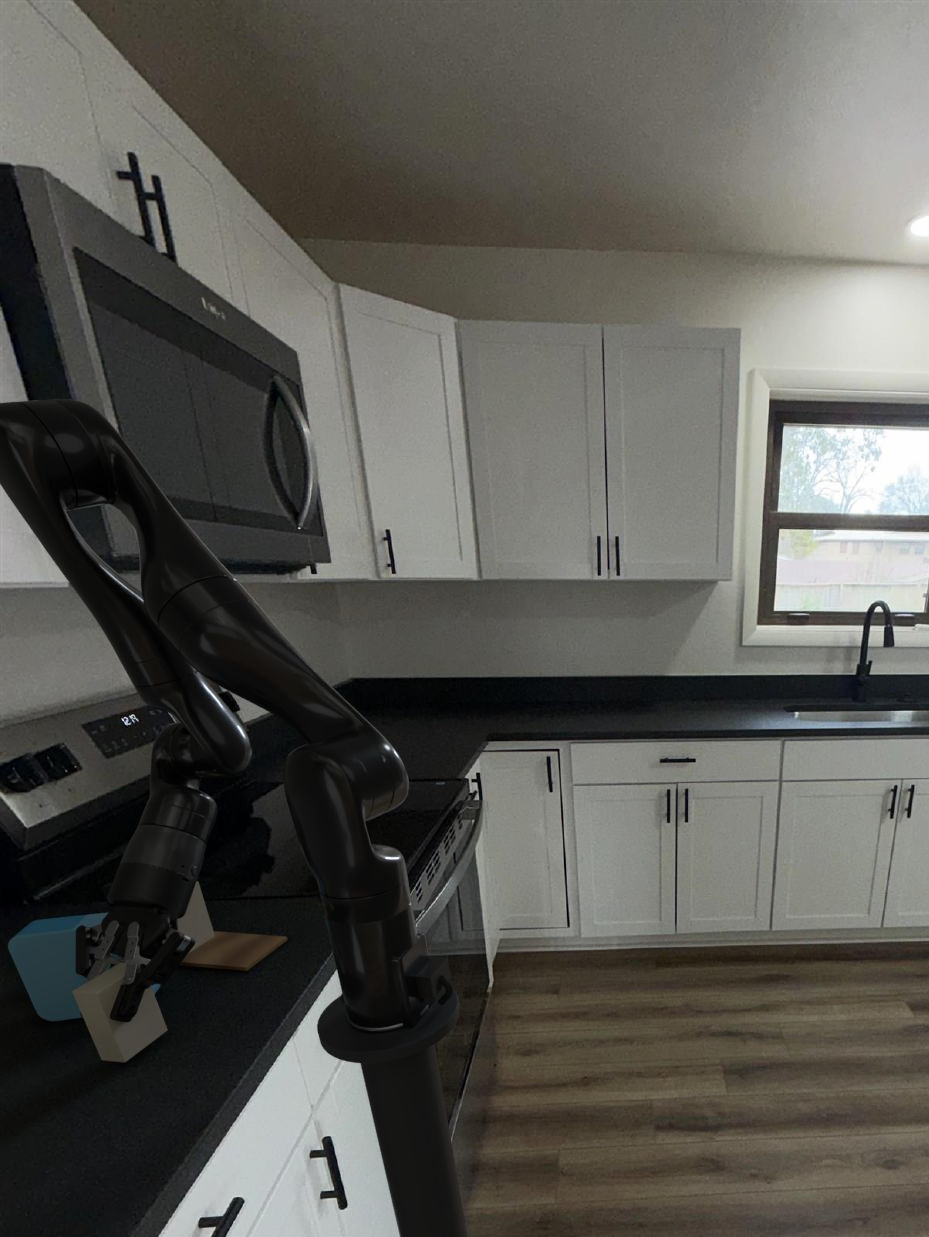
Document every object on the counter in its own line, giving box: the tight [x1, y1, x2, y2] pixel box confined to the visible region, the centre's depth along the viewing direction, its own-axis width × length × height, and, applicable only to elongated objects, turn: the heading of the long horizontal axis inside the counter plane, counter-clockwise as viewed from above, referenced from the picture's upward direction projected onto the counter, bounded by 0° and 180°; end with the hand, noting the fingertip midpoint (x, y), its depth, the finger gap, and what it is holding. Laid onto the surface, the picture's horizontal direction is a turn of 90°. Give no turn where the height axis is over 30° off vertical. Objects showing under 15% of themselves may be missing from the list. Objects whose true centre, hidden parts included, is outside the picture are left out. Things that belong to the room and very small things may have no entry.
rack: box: [101, 880, 289, 972], centre depth 101 cm, size 18×9×12 cm, turn 81°
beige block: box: [72, 963, 168, 1063], centre depth 79 cm, size 3×6×9 cm, turn 171°
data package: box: [7, 911, 161, 1022], centre depth 88 cm, size 12×4×12 cm, turn 105°
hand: (105, 1018), depth 77 cm, fingers closed on beige block, 3 cm apart
